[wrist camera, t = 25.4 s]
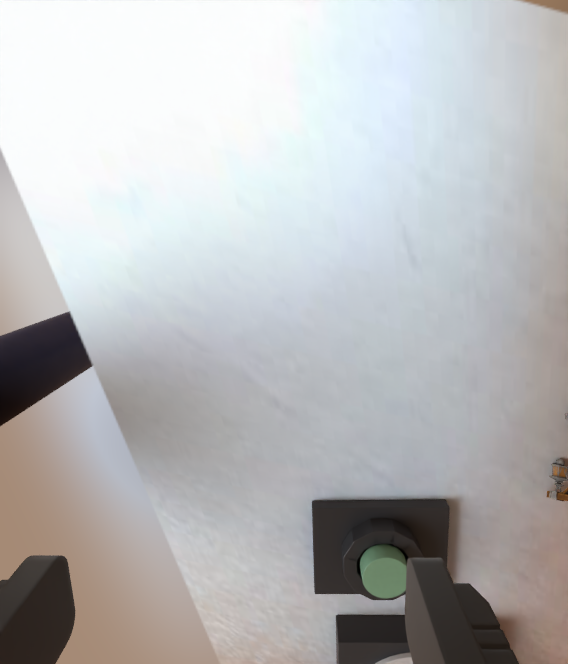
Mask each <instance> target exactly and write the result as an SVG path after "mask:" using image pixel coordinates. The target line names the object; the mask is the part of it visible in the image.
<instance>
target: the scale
mask: <svg viewBox="0 0 568 664" xmlns="http://www.w3.org/2000/svg"><path fill="white" fill-rule="evenodd" d="M336 648H337V664H413V661H412V657H411V653H410V649H409V645H408V640H407V634H406V625H405V616H401V615H336Z"/></svg>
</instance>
